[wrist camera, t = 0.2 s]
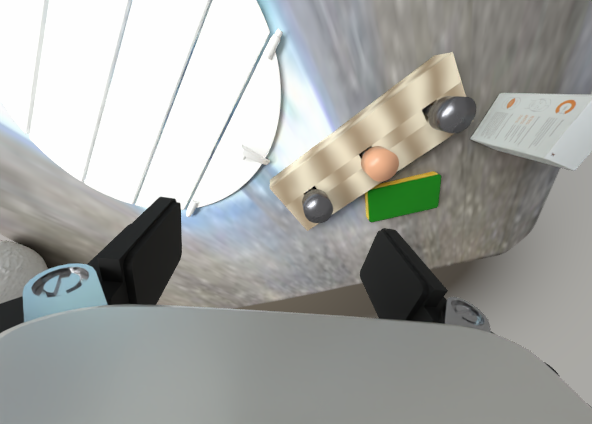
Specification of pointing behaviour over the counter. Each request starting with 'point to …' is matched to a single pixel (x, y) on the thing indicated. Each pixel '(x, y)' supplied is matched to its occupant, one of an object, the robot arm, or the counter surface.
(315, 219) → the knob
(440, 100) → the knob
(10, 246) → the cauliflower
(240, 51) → the lazy susan
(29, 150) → the counter surface
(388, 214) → the dish sponge
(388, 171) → the middle knob
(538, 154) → the small box
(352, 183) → the knob mount
